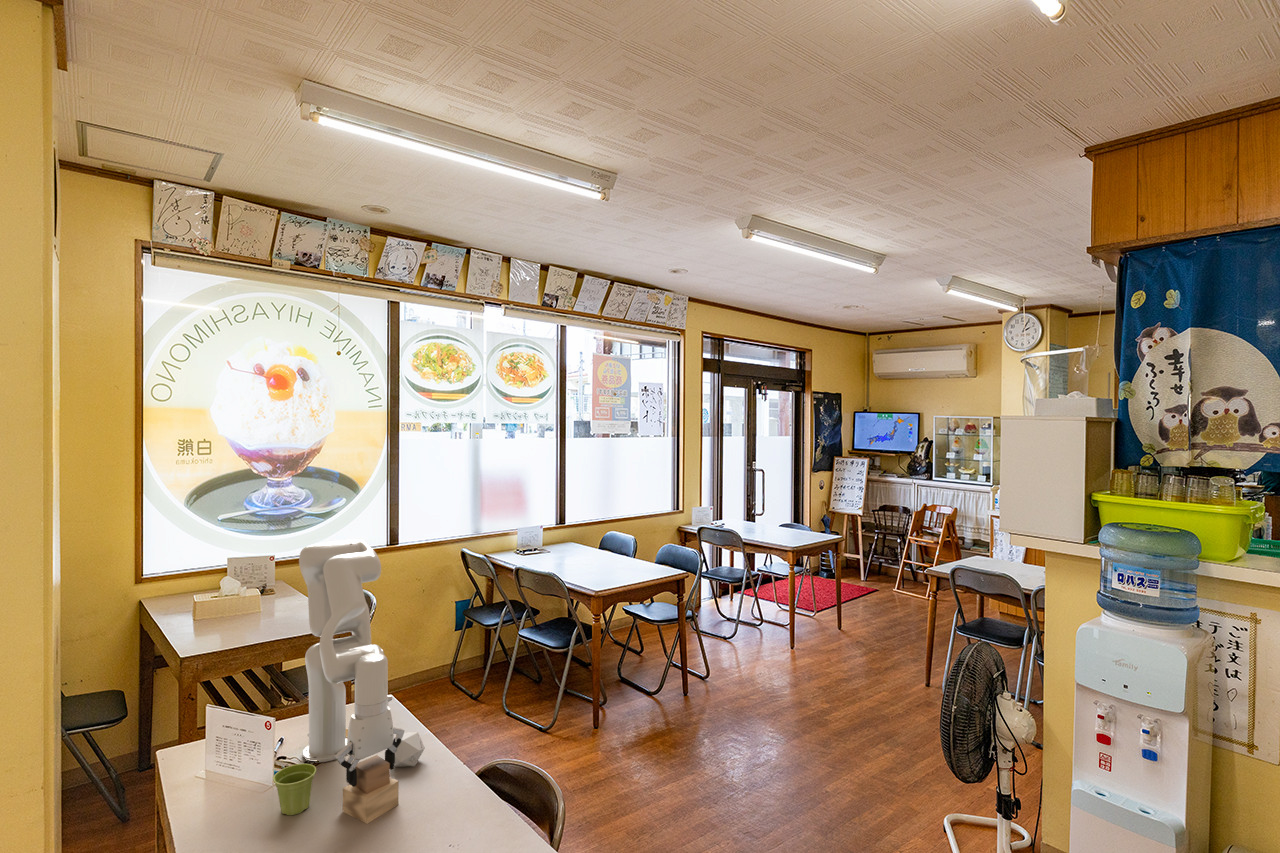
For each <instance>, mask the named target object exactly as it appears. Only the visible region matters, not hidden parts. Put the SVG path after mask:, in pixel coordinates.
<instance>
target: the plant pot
mask: <svg viewBox="0 0 1280 853" xmlns="http://www.w3.org/2000/svg"><path fill="white" fill-rule="evenodd" d="M316 773H317V767H316V766H315V765H313V764H312V763H311V764H310V763H297V764H293V765H288V766H286V767H284V768H282V769H280V770H279V771H277V772H276V773H275V774H274V775H273V777H272V780H273V783H274V784H275V787H276V790H277V796H278V800H279V806H280V812H281V813H282V815H283V814H284V815H287V816H293V815H294V816H295V815H298V814H301V813H302V812H304V810H307V809H308V808H309V806H310V802H311V794H312V787H313V786H312V785H313V780H314V778H315V774H316Z"/></svg>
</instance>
